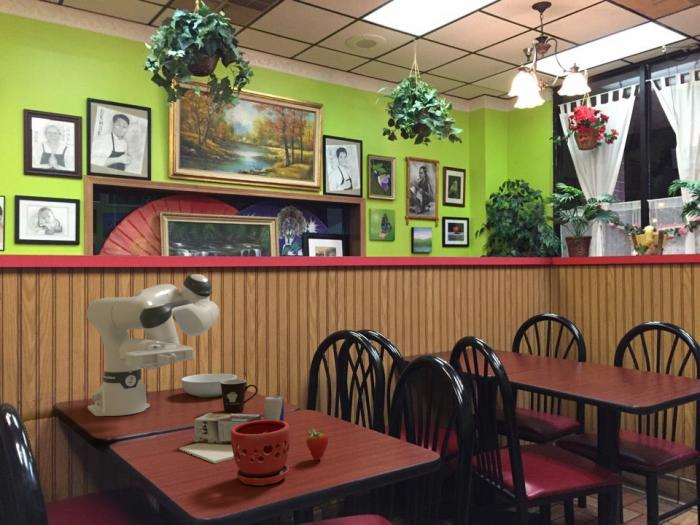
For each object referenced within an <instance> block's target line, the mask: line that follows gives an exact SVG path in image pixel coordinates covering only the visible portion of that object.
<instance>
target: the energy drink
mask: <svg viewBox="0 0 700 525" xmlns="http://www.w3.org/2000/svg"><path fill="white" fill-rule="evenodd" d="M263 402H264V420H279V421H284V422H285V399H284V397H283V396H282V395H281V396H280V395H270V396H266V397H264V401H263ZM264 433H267V432H264Z"/></svg>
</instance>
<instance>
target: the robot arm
mask: <svg viewBox="0 0 700 525" xmlns="http://www.w3.org/2000/svg"><path fill="white" fill-rule="evenodd" d="M182 284H183V285H182V289H181V291H180V290H179V288H178V287H177V286H175V285H174V284H172V283H161V284H157V285H152V286H150V287H147V288H144V289H141V290H138V291H136V292H135V293H134V295H133V296H125V297H122V296H121V297H116V296H115V297H112V296H111V297H109V296H108V297H103V298H99V299H95V300H93V301H91V302H90V303H89V306H88V307H87V311H86V317H87V320H88V323H89V324H90V325H91V326H92V327H93V328H95V330H96V331H97V333H98V335H99V336H100V339H101V341H102V343H103V348H104V357H105V370H104V371H103V376H102V377H103V379H102V381H103V382H102V383H101V384H100V386H99V388H98V389H97V390H96V391H95V392H94V394H92V401H93V402H94V404H89V405H87V410H88V411H89V412H91V414H92V415H94V416H95V417H104V416H105V417H107V416H110V417H113V416H114V417H115V416H116V417H117V416H127V415H133V414H137V413H142V412H144V411H146V409H148V408H150V406H151V403H148V402H147V394H146V384H145V383H144V382H143V381H142V378H143V376H142V375H143V374H142V369H146V370H157V369H159V368H161V367H164V366H167V365H171V364H175V363H177V364H178V362H185V361H193V360H194V357H195V351H194V350H195V349H194V348H193V347H192V346H189V345H184V344H181V343H180V338H179V335H178V333H177V328H176V325H175V323H176V324H177V326H178V328H179V330H180V331H181V332H183V333H184V334H185V335H187V336H191V337H197V336H200V335H203V334H206V332H208V331H209V330H210V329H212V327H213V326H214V325H215V324H216V322H217V321H218V320H219V317H220V309H219V306H218V305H217V303H215V302H214V301H212V300H210V298H211V297H210V296H211V295H212V294H213V292H212V281H211V280H210V278H209V277H208V276H205V275H204V274H200V273H191V274H188V275H187V276H186V277H185V279H184V280H183V282H182ZM128 330H130V331H132V330H133V331H136V330H137V331H138V330H143V332H144V337H145V338H141V337H130V334H129V332H128Z"/></svg>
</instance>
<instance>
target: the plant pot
mask: <svg viewBox="0 0 700 525" xmlns="http://www.w3.org/2000/svg"><path fill="white" fill-rule="evenodd" d="M265 432H267V433H265ZM290 437H291V433H290V425H289V423H288V422H286V421H285V420H284V421H279V420H265V419H261V420H259V421H252V422H247V423H243V424H240V425H237V426H235V427H234V428H232V430H231V444H232V450H233V455H234V458H233V459H234V461H235V464H236V467H237V468H238V470H237V472H236V477H237V478H238V480H239V481H241V482H242V483H244V484H245V485H250V486H251V485H252V486H258V487H261V486H266V485H271V484H275V483H278V482H280V481H282V480H283V479H285V478H286V477H287V476H288V474H289V471H290V467H289V466H288V465H287V464H286V463H287V460H288V457H289V453H290V444H291V442H290V440H291V439H290ZM238 445H239V447H238Z"/></svg>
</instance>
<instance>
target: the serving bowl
mask: <svg viewBox="0 0 700 525" xmlns="http://www.w3.org/2000/svg"><path fill="white" fill-rule="evenodd" d="M232 379H237V375H235V374H232V373H200V374H194V375H189V376H183V377H182V378H181V380H180V381H181V386H182V388H183V390H184V391H185V392H186V393H187V394H189V395H192V396H197V397H199V398H214V397H219V396H222V390H221V381H224V380H232Z"/></svg>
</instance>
